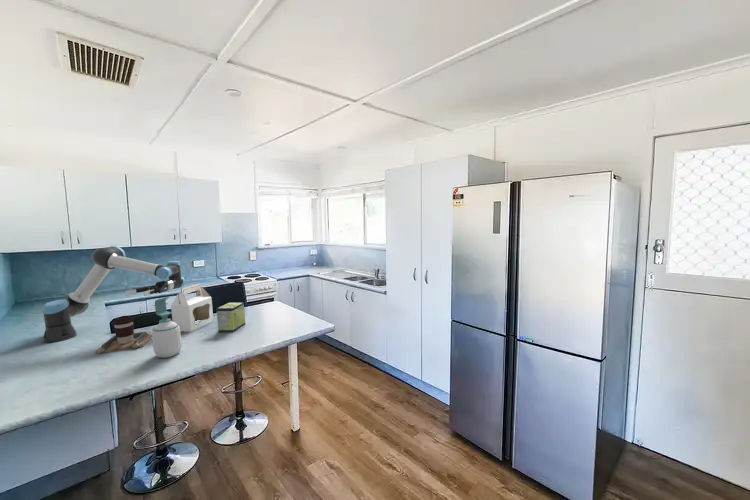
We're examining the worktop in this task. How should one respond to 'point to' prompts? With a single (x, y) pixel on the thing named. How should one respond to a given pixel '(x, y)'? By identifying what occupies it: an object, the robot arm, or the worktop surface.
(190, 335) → the worktop surface
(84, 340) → the worktop surface
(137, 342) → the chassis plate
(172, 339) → the soap bottle
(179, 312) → the gable box
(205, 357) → the worktop surface
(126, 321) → the coffee cup
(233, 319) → the protein box
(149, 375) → the worktop surface
